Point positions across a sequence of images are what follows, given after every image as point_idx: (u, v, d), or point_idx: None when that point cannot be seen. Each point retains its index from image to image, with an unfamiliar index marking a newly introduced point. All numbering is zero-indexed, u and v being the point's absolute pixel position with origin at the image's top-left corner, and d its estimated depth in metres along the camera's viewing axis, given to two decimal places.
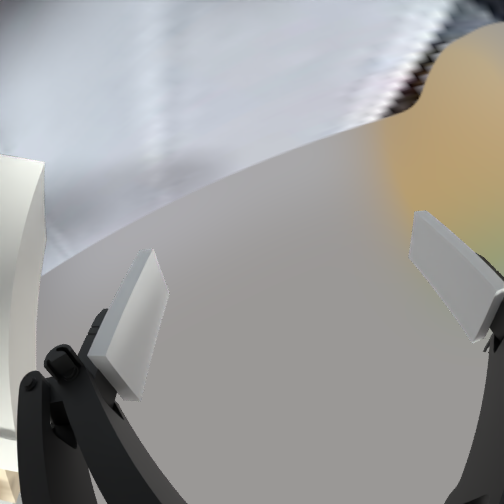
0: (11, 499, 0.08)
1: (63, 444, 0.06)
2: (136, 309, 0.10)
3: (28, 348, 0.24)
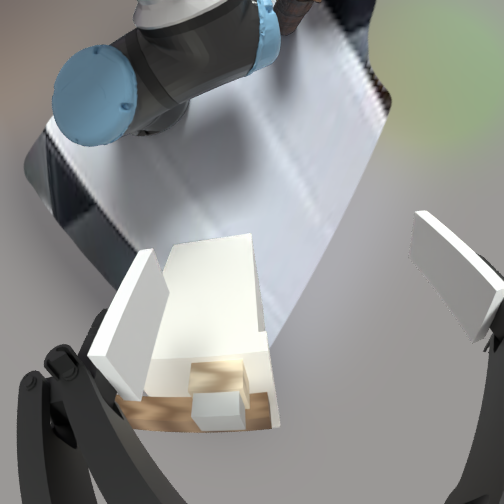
0: (239, 385, 0.27)
1: (63, 444, 0.06)
2: (136, 309, 0.10)
3: None
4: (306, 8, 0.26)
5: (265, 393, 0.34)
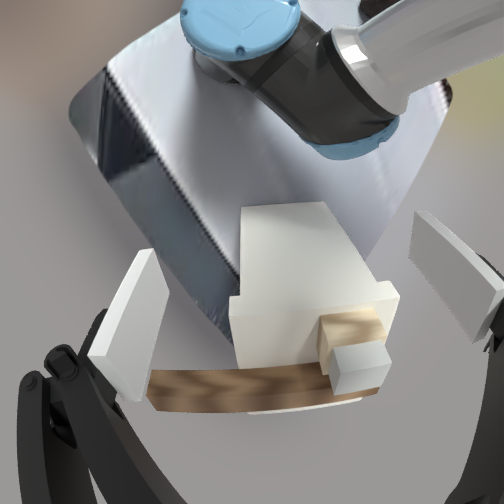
0: (383, 333, 0.24)
1: (62, 444, 0.06)
2: (136, 309, 0.10)
3: None
4: None
5: None
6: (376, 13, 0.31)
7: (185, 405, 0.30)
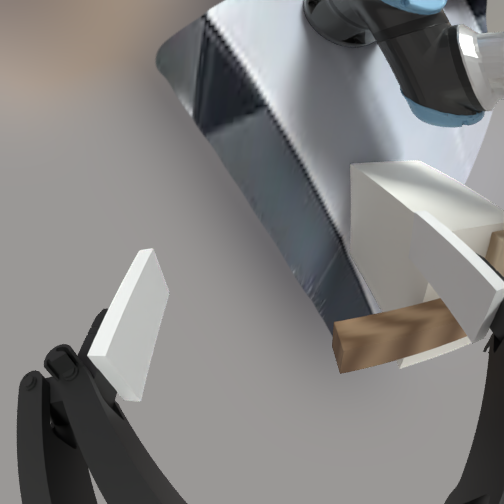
0: None
1: (63, 444, 0.06)
2: (136, 309, 0.10)
3: None
4: None
5: None
6: None
7: (381, 354, 0.26)
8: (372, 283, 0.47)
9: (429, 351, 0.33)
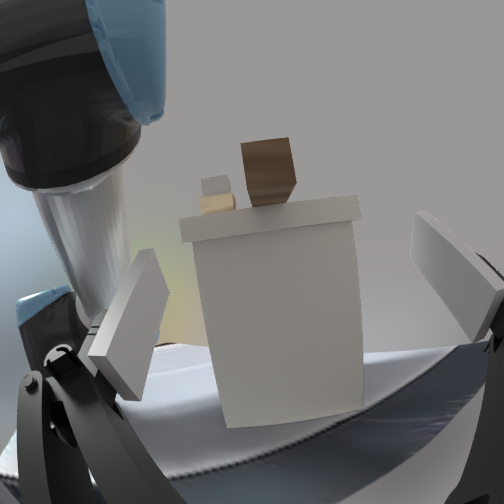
0: None
1: (62, 444, 0.06)
2: (136, 309, 0.10)
3: None
4: None
5: None
6: None
7: None
8: (348, 328, 0.34)
9: None
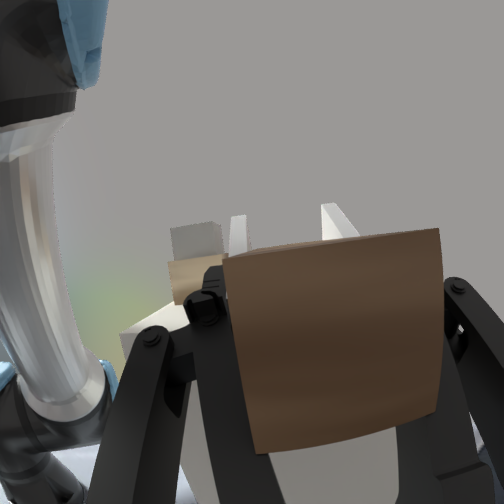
0: None
1: (168, 412, 0.07)
2: None
3: None
4: None
5: None
6: None
7: None
8: None
9: None
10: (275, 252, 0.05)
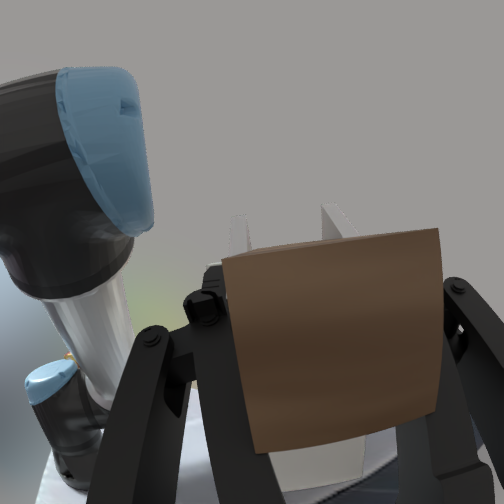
0: None
1: (168, 412, 0.07)
2: None
3: None
4: None
5: None
6: None
7: None
8: None
9: None
10: (275, 252, 0.05)
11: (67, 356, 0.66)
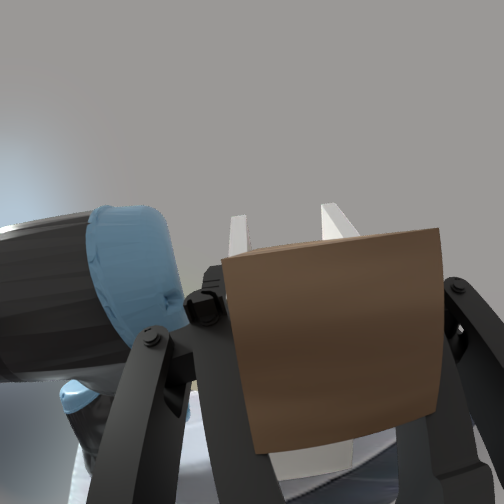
0: None
1: (168, 412, 0.07)
2: None
3: None
4: None
5: None
6: None
7: None
8: None
9: None
10: (275, 252, 0.05)
11: None
